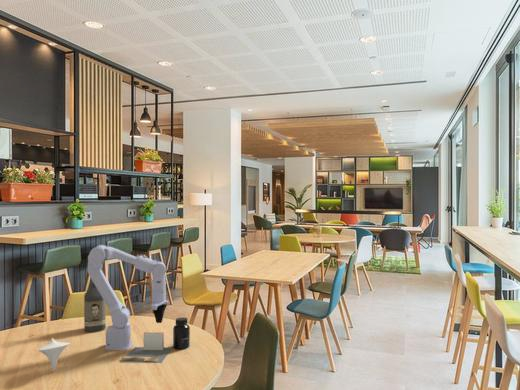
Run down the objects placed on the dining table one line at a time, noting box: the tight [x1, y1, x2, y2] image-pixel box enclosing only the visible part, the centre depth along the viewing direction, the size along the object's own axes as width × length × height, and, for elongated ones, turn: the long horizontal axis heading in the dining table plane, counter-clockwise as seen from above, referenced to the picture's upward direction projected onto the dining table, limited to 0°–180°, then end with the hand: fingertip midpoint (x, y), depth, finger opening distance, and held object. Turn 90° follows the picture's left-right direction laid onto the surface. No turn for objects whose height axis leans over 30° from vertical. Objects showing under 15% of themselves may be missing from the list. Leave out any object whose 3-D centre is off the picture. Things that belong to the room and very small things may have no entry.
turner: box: [120, 355, 160, 362], centre depth 156 cm, size 14×4×1 cm, turn 87°
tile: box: [143, 331, 165, 350], centre depth 167 cm, size 8×2×7 cm, turn 87°
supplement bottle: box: [172, 317, 191, 351], centre depth 170 cm, size 7×7×12 cm
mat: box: [119, 346, 174, 364], centre depth 162 cm, size 16×16×1 cm
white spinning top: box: [36, 337, 71, 373], centre depth 147 cm, size 10×11×12 cm
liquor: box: [83, 278, 107, 333], centre depth 196 cm, size 9×9×30 cm
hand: (159, 322), depth 175 cm, fingers closed
